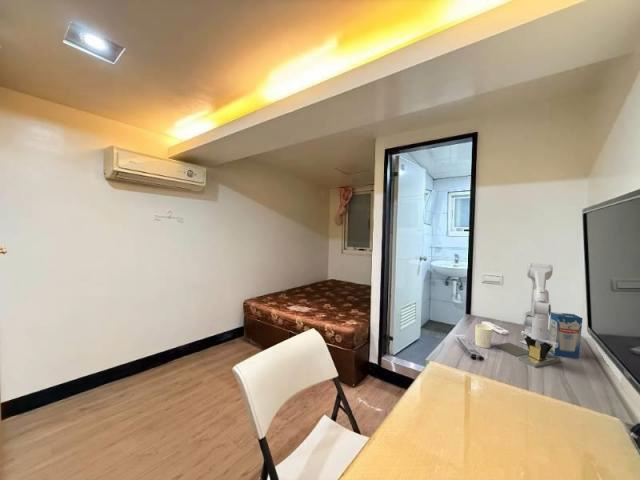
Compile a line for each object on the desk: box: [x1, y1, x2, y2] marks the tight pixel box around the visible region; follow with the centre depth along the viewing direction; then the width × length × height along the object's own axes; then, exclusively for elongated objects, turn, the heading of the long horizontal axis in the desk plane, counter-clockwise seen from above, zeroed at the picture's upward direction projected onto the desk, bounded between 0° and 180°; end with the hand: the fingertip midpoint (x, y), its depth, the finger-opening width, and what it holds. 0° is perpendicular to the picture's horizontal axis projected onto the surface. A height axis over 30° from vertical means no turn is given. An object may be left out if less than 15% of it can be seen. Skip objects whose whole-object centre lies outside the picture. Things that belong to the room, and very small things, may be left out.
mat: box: [492, 342, 529, 358], centre depth 138 cm, size 12×12×1 cm
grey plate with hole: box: [518, 352, 562, 368], centre depth 127 cm, size 18×7×2 cm, turn 110°
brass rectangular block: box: [528, 344, 546, 361], centre depth 126 cm, size 4×4×7 cm
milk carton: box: [548, 311, 583, 360], centre depth 134 cm, size 10×6×20 cm, turn 76°
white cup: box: [474, 323, 494, 349], centre depth 141 cm, size 8×8×10 cm
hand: (537, 355), depth 126 cm, fingers closed on brass rectangular block, 4 cm apart
